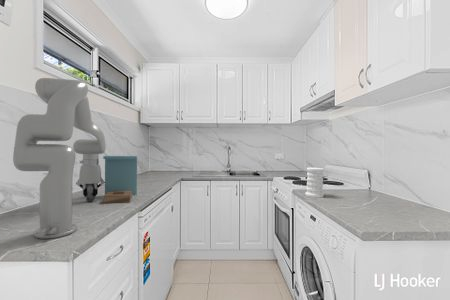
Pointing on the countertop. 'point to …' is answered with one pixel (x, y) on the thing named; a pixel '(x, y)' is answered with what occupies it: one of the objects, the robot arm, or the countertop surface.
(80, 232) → the countertop surface
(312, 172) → the decorative container
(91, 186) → the peg
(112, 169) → the teal upright box
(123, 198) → the socket block
